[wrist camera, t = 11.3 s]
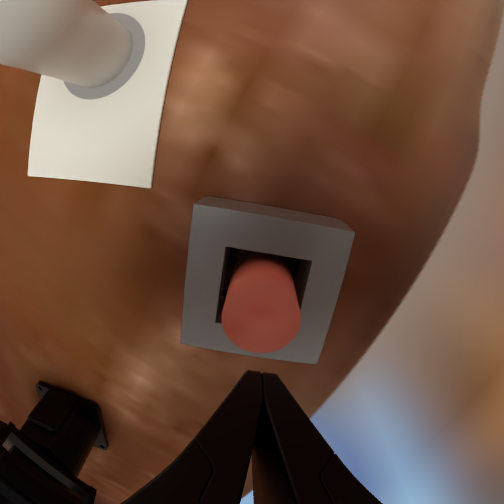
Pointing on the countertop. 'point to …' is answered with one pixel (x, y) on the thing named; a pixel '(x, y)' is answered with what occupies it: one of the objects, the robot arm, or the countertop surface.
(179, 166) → the countertop surface
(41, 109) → the paper
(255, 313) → the button
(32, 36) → the teal and white bottle
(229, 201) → the button housing
